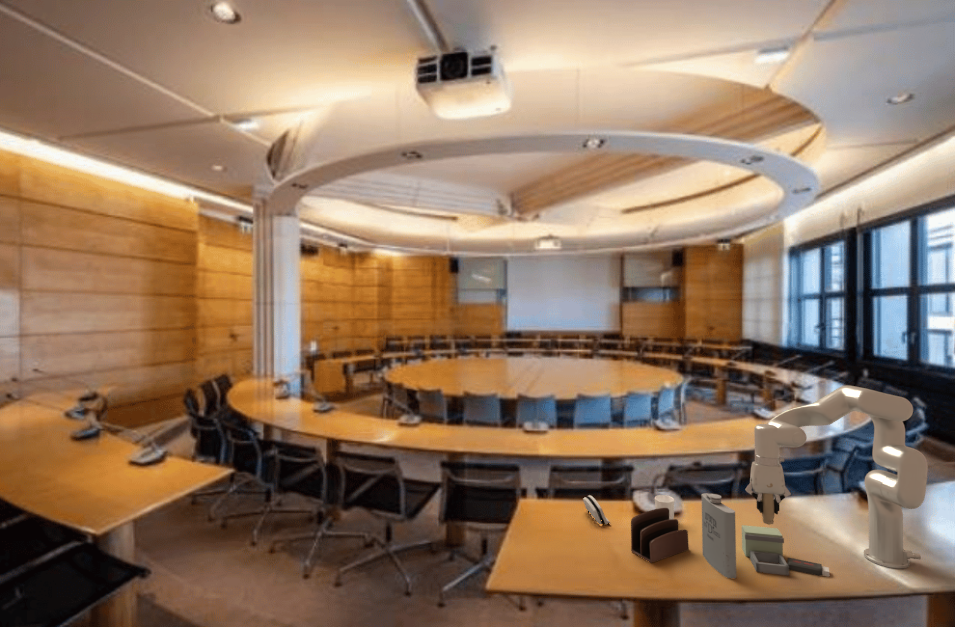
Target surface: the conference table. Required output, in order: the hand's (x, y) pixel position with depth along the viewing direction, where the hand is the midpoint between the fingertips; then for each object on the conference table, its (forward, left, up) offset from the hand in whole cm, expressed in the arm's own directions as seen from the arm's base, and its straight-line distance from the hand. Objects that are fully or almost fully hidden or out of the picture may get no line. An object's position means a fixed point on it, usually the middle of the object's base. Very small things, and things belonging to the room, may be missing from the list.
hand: (768, 511), depth 173 cm
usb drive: (-12, -1, -20) cm, 24 cm away
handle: (0, 0, -4) cm, 4 cm away
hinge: (+61, -27, -20) cm, 69 cm away
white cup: (+32, -30, -20) cm, 48 cm away
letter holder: (+36, -3, -20) cm, 41 cm away
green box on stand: (0, -4, -20) cm, 20 cm away
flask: (+17, +3, -20) cm, 26 cm away
